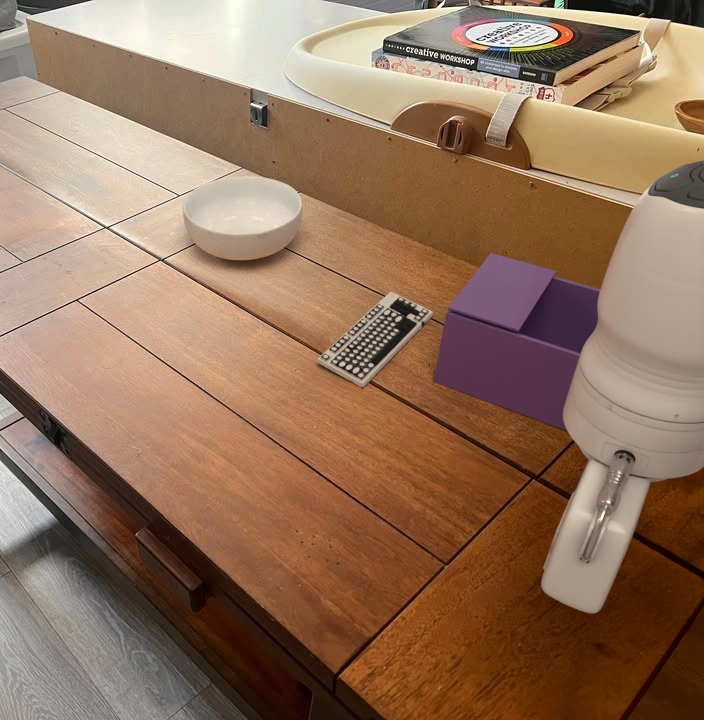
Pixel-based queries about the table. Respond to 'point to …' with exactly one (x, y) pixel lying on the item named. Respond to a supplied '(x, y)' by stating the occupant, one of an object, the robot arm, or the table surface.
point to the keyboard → (375, 339)
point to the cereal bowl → (242, 217)
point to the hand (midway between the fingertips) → (587, 547)
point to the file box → (517, 337)
